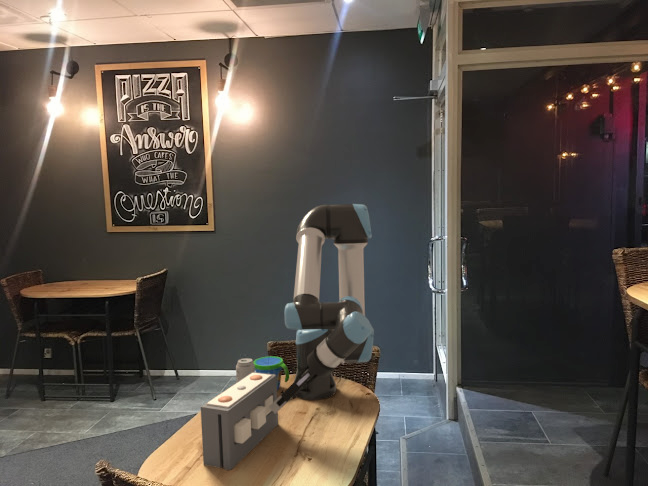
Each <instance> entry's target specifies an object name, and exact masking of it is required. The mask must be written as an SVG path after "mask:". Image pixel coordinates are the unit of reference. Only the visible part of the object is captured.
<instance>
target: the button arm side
mask: <svg viewBox="0 0 648 486" xmlns="http://www.w3.org/2000/svg"><path fill="white" fill-rule="evenodd" d="M264 402H265V408H266V415H268V414H269V413H270V412H271V411H272V410H271V409H270V407H269V406H270V405H271V404H272V403H273V395H270V396H268V397H267V398H266V399H265V400H264Z"/></svg>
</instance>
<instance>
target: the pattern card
mask: <svg viewBox="0 0 648 486" xmlns="http://www.w3.org/2000/svg"><path fill="white" fill-rule="evenodd" d="M271 376H272V375H268V374H260V373H251V374H250V375H248V376H247V377H245V378H244V379H242V380H241V381H239V382H238V383H237V382H236V384H235V383H234V384H235V385H234V384H233V386H232V385H231V386H232V387H231V386H229V387H230V388H229V387H228V388H229V389H228V388H226V389H227V390H226V389H225V390H226V391H225V390H223V391H224V392H223V391H222V392H223V393H222V392H221V393H219V394H220V395H219V394H218V395H216V396H217V397H216V396H215V397H213V398H214V399H213V398H211V399H210V400H211V401H210V400H209V401H207V402H208V403H207V402H206V403H207V405H211V406H218V407H224V408H229V407H231V406H232V405H233V404H235V403H236V402H237V401H239V400H240V399H241V398H243V397H244V396H245V395H247V394H248V393H250V392H251V391H252V390H254V389H255V388H256V387H258V386H259V385H260V384H262V383H263V382H264V381H266V380H267V379H269V378H270V377H271Z"/></svg>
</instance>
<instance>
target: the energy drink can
mask: <svg viewBox="0 0 648 486" xmlns="http://www.w3.org/2000/svg"><path fill="white" fill-rule="evenodd" d="M253 362H254V361H253V359H252V358H249V357H244V358H240V359H238V360H237V364H236V365H235V372H236V383H237V382H238V381H240V380H241V379H243V378H244V377H246V376H247V375H249V374H250V373H252V372H255V364H254V363H253Z"/></svg>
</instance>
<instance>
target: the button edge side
mask: <svg viewBox="0 0 648 486" xmlns="http://www.w3.org/2000/svg"><path fill="white" fill-rule="evenodd" d="M250 436H251V419H246V418H241V419H240V420H239V421H237V422H236V423H235V424H234V442H236V443H242V444H243V443H244V442H245V441H246V440H247V439H248V438H249V437H250Z"/></svg>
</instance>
